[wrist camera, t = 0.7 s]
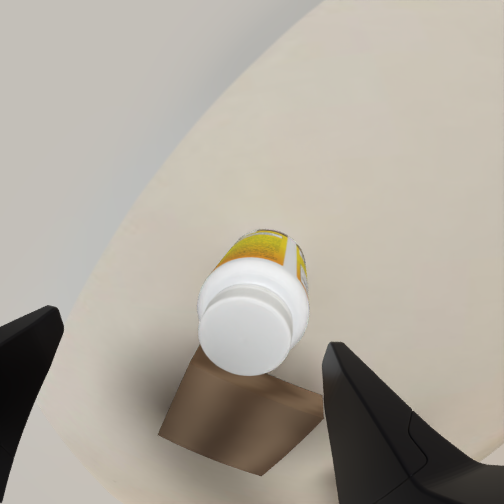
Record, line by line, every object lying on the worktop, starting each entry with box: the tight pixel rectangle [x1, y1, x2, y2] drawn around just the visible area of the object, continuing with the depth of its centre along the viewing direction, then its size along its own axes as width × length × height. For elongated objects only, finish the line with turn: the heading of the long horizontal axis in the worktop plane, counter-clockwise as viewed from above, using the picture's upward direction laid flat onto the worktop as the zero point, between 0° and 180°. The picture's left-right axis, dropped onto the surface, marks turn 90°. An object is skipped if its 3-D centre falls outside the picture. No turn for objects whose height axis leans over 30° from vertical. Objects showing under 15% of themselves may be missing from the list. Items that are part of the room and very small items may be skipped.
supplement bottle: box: [197, 229, 309, 376], centre depth 17 cm, size 6×6×10 cm
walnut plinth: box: [158, 345, 324, 476], centre depth 24 cm, size 12×12×3 cm
